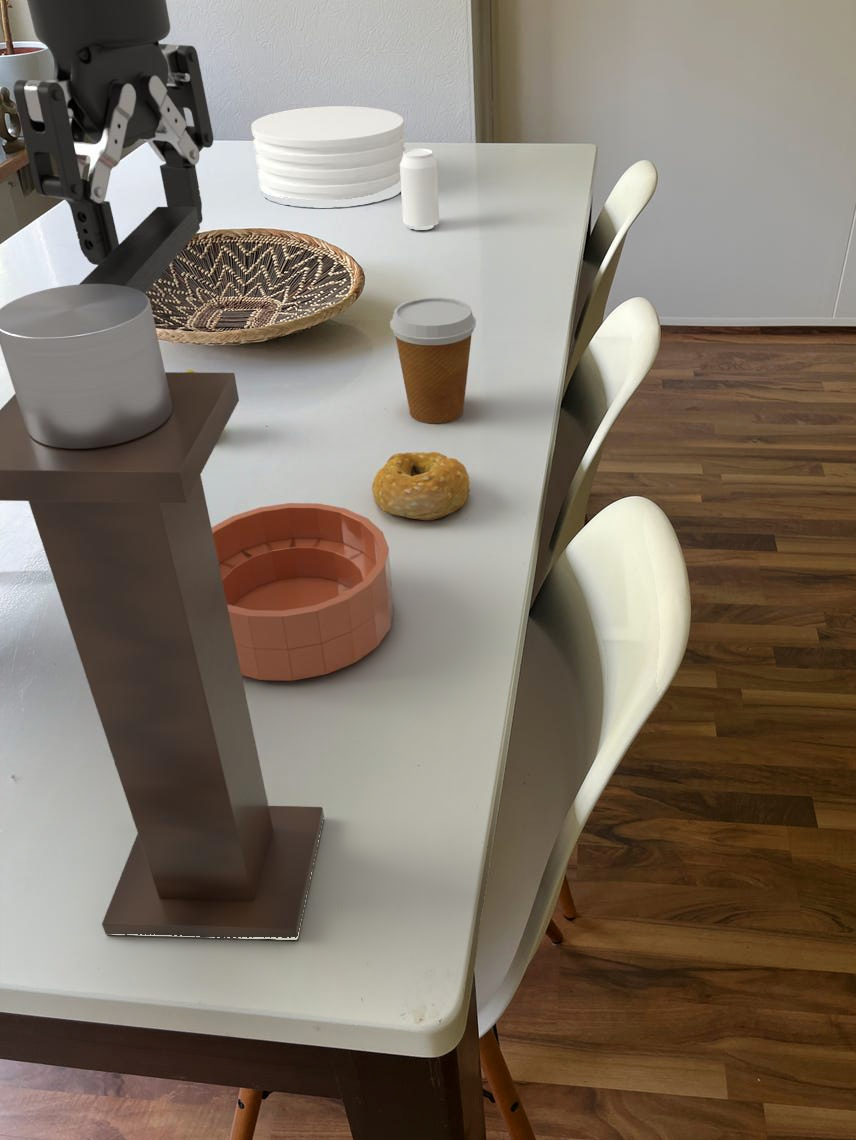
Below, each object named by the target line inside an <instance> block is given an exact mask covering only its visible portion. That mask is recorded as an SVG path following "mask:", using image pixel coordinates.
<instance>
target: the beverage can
mask: <svg viewBox="0 0 856 1140" xmlns="http://www.w3.org/2000/svg"><path fill="white" fill-rule="evenodd" d="M438 175H439V174H438V162H437V160H436V158H435V156H434V151H433V150H432V149H428V148H410V149H405V151H404V152H403V157H402V160H401V162H400V178H401V194H400V195H401V211H402V223H403V222H404V224H406V225H410V226H416V227H417V226H419V227H421V226H429V225H433V224H436V223H437V222H438V221H439V222H440V212H439V211H440V205H439V202H440V201H439V178H438V177H439V176H438ZM404 224H403V225H404Z"/></svg>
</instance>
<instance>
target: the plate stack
mask: <svg viewBox="0 0 856 1140" xmlns="http://www.w3.org/2000/svg"><path fill="white" fill-rule="evenodd" d="M404 122H405V120H404V118H403V116H401V115H400V114H399V113H396V112H395V111H390V110H386V109H381V108H376V107H367V106H351V105H350V106H347V105H331V106H329V105H328V106H314V107H313V106H312V107H303V108H302V107H301V108H296V109H289V110H283V111H277V112H274V113H270V114H267V115H264V116H262V117H259V118H257V119H256V120H254V121H253V122H252V123H251V125H250V127H251V128H250V129H251V135H252V136H253V138H254V139H253V141H252V143H253V149H254V152H255V155H254V156H255V163H256V166H257V179H258V181H259V183H258V184H259V185H258V186H259V190H260V189H261V191H263V192H264V193H266V194H268V195H271V196H275V197H280V196H281V197H280V198H283V197H288V198H295V199H306V200H329V201H330V200H331V201H338V200H339V201H343V199H346V201H347V200H348V199H350V200H352V198H358V197H364V196H368V195H373V194H375V193H378V192H380V191H383V190H385V189H387V188H390V187H392V186H393V185H395V184H397V183H398V182H399V181H400V180H401V178H400V162H401V160H402V157H403V152H404V151H406V148H405V147H404V145H405V144H406V143H405V142H406V138H405V137H406V136H405V133H404V132H403V131H404V128H405V123H404ZM286 199H287V198H286Z"/></svg>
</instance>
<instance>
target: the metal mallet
mask: <svg viewBox="0 0 856 1140" xmlns="http://www.w3.org/2000/svg"><path fill="white" fill-rule="evenodd" d="M200 229H201V226H200V224H199V219H198V214H197V208H196V207H167V206H156V208H155V209H153V210H152V212H151V213H149V214H148V215H147V216H146V217H145V219H144V220H142V221H141V222H140V223H139V224H138V225H137V226H136V227H135V228H134V229H133V230H132V231H131V232H130V233H129V234H128V235H127V236H126V237H125V238H124V239H123V240H122V241H121V242H119V245H118V246H117V247H116V248H115V249H114V250H113V251H112V252H111V253H110V254H109V255H108V256H107V257H106V258H105V259H104V260H103V261H102V262H101V263H100V264H99V265H96V267H94V269H93V270H91V271H90V273H89V274H87V276H85V277H84V279H83V280H82V281H80V283H78V284H70V285H64V286H63V285H62V286H58V287H57V286H56V287H52V288H47V289H43V290H39V291H35V292H32V293H29V294H26V295H24V296H21V297H19V298H15V299H14V300H12V301H10V302H9V303H6V304H5V305H3V306H2V307H1V308H0V349H1V352H2V355H3V359H4V362H5V365H6V368H7V372H8V375H9V377H10V381H11V384H12V387H13V391H14V394H16V397H17V400H18V403H19V407H20V410H21V413H22V416H23V419H24V422H25V426H26V429H27V431H28V433H29V435H30V436H31V437H32V438H33V439H35V440H36V441H38V442H40V443H42V444H45V445H48V446H51V447H57V448H64V449H93V448H101V447H108V446H113V445H118V444H122V443H125V442H129V441H132V440H135V439H137V438H140V437H142V436H144V435H147V434H149V433H151V432H152V431H154V430H156V429H157V428H159V427H160V426H161V425H163V424H164V423H165V422H166V421H167V419H168V418H169V417H170V415H171V412H172V402H171V397H170V392H169V388H168V383H167V378H166V374H165V372H166V369H165V365H164V361H163V356H162V351H161V347H160V341H159V336H158V332H157V327H156V323H155V318H154V314H153V309H152V304H151V301H150V298H149V297H148V296H147V295H146V293H147V292H148V291H149V290H150V289H151V288H152V286H153V285H154V284H155V283H156V282H157V280H158V279H159V278H160V277H161V276H162V274H163V273H164V272H165V271H166V270H167V269H168V268H169V266H170V265H171V264H172V263H173V262H174V260H175V259H176V258H177V257H178V256H179V254H180V253H181V252H182V251H183V250H184V249H185V247H186V246H187V245H189V243H190V242H191V240H192V239H193V238H194V237H195V235H197V233H198V232H199V231H201V230H200Z"/></svg>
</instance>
